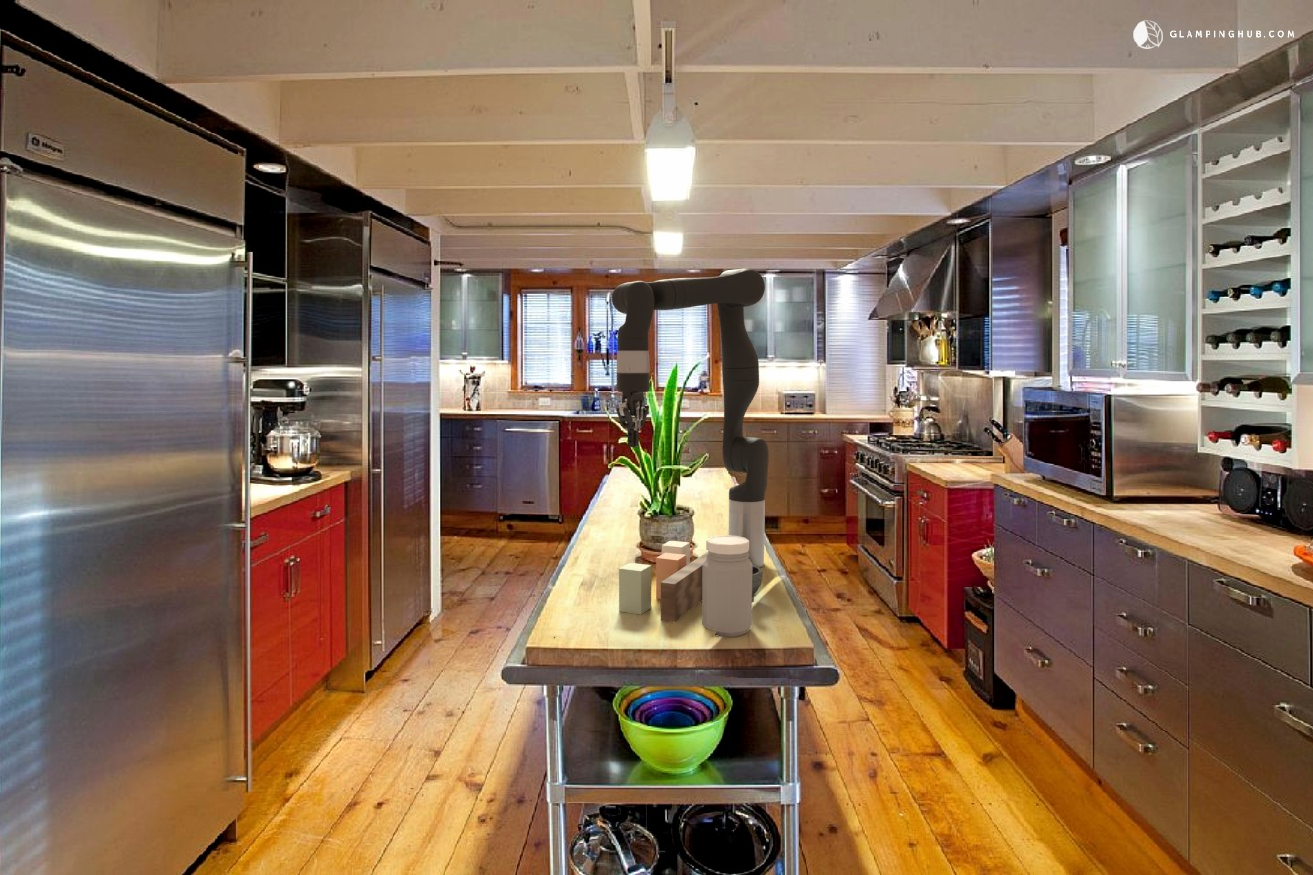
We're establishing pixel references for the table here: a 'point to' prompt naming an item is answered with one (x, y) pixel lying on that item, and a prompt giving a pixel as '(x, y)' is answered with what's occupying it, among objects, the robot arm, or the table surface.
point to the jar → (727, 586)
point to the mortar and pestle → (756, 579)
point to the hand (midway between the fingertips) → (633, 446)
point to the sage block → (635, 588)
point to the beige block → (677, 549)
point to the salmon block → (667, 568)
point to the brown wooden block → (682, 590)
